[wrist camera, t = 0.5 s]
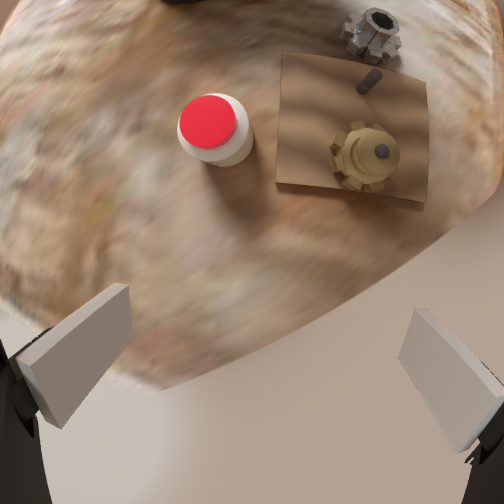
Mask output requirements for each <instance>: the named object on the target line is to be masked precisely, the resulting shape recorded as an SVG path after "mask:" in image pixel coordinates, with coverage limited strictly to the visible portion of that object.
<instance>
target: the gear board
mask: <svg viewBox="0 0 504 504" xmlns="http://www.w3.org/2000/svg"><path fill="white" fill-rule="evenodd" d="M428 164H429V124H428V105H427V92H426V83H425V82H423V81H420V80H417V79H415V78H412V77H409V76H406V75H403V74H400V73H396V72H393V71H390V70H386V69H383V68H379V67H375V66H371V65H367V64H363V63H359V62H354V61H349V60H344V59H339V58H334V57H328V56H321V55H314V54H307V53H298V52H288V51H283V52H282V71H281V91H280V110H279V127H278V143H277V159H276V174H275V183H287V184H298V185H308V186H318V187H327V188H335V189H343V190H351V191H358V192H365V193H372V194H378V195H385V196H391V197H397V198H402V199H408V200H413V201H419V202H425V203H426V196H427V184H428Z"/></svg>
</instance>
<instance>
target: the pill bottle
mask: <svg viewBox="0 0 504 504" xmlns="http://www.w3.org/2000/svg"><path fill="white" fill-rule="evenodd" d="M177 134H178V139H179V141H180V144H181V146H182V147H183V149H184V150H185V151H186V152H187V153H188V154H189V155H190V156H192V157H194V158H196V159H198V160H201V161H203V162H206V163H209V164H211V165H214V166H217V167H230V166H234V165H236V164H238V163H240V162H241V161H243V160H244V159H245V158H246V157H247V156H248V154H249V153H250V151H251V149H252V146H253V142H254V135H253V131H252V127H251V124H250V121H249V118H248V114H247V112H246V110H245V108H244V107H243V106H242V105H241V103H240V102H238V101H237V100H236V99H235V98H233V97H231V96H229V95H225V94H220V93H212V94H206V95H203V96H200V97H197V98H196V99H194V100H192V101H191V102H190V103H188V105H187V106H186V107H185V108H184V110H183V111H182V113H181V116H180V118H179V121H178V126H177Z"/></svg>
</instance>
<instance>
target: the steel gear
mask: <svg viewBox="0 0 504 504" xmlns="http://www.w3.org/2000/svg"><path fill="white" fill-rule="evenodd" d="M399 31H400V30H399V25H398V21H397V20H396V19H395V18H394V17H393V16H392V15H391V14H390V13H389V12H387V11H385V10H382V9H378V8H374V7H373V8H371V9H369V10H367V11H366V12H365V13H364V15H363V16H362V15H361V16H360V15H359V14H357V13H356V12H355V13H353V14H351V15H349V16H348V17H347V19H346V21H345V22H344V24H343V26H342V29H341V31H340V37H341V40H343V41H346V42H347V43H348V45H347V47H346V48H345V49H346V50H347V51H348V52H349V53H351V54H352V55H353V56H356V55H359V56H360V55H361V54H362V57H363V58H364V63H368V64H372V65H376V64H377V63H378V62H379V61H380V60H381V61H382V62H383V64H386V63H387V62H389V61H390V60H392V59H393V58H394V57H395V56H396V55H397V54H398V52H397V50H398V49H399V48H400V47H401V42H400V37H398V36H395V35H396V34H397V33H398V32H399Z"/></svg>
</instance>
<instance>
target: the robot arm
mask: <svg viewBox="0 0 504 504" xmlns="http://www.w3.org/2000/svg"><path fill="white" fill-rule="evenodd" d="M165 1H168V2H172V3H191V2H197V1H201V0H165ZM133 338H134V331H133V324H132V316H131V307H130V297H129V286H128V285H125V284H119V283H114V284H112V285H111V286H109V287H108V288H107V289H105V290H104V291H102V292H101V293H99V294H98V295H97V296H95V297H94V298H92V299H91V300H90V301H88V302H87V303H86V304H84V305H83V306H81V307H80V308H79V309H77V310H76V311H75V312H73V313H72V314H71V315H69V316H68V317H67V318H65V319H64V320H63V321H61V322H60V323H59V324H57V325H55V326H53V327H51V328H48V329H46V330H45V331H43V332H42V333H41V334H40V335H38V337H36V338H34V339H33V340H32V342H29V343H28V344H27V345H25V346H24V347H23V348H22V349H20V351H18V352H17V353H15V354H14V355H13V356H12V357H11V358H9V359H8V357H7V355H6V352H5V350H4V347H3V344H2V341H1V339H0V504H52V500H51V496H50V493H49V489H48V484H47V480H46V475H45V471H44V465H43V459H42V453H41V445H40V437H39V427H38V420H37V417H36V415H35V414H36V413H37V411H38V410H40V412H41V414H42V415H43V417H44V419H45V421H47V422H48V423H50V424H52V425H54V426H56V427H57V428H59V429H62V428H63V426H64V425H65V424H66V422H67V421H68V420H69V418H70V417H71V416H72V414H73V413H74V412H75V410H76V409H77V408H78V407H79V405H80V404H81V403H82V401H83V400H84V399H85V397H86V396H87V395H88V394H89V392H90V391H91V390H92V388H93V387H94V386H95V385H96V383H97V382H98V381H99V380H100V378H101V377H102V376H103V375H104V373H105V372H106V371H107V370H108V368H109V367H110V366H111V365H112V363H113V362H114V361H115V360H116V358H117V357H118V356H119V355H120V354H121V352H122V351H123V350H124V349H125V347H126V346H127V345H128V344H129V343H130V341H131V340H132V339H133ZM398 359H399V360H400V362H401V364H402V365H403V367H404V368H405V370H406V371H407V373H408V375H409V376H410V378H411V379H412V381H413V383H414V384H415V386H416V388H417V389H418V391H419V392H420V394H421V396H422V397H423V399H424V401H425V402H426V404H427V406H428V407H429V409H430V411H431V413H432V414H433V416H434V418H435V420H436V421H437V423H438V425H439V427H440V429H441V430H442V432H443V434H444V436H445V438H446V440H447V442H448V443H449V445H450V447H451V449H452V451H453V453H454V454H458V453H460V452H463V451H465V450H467V449H469V448H470V447H471V445H472V444H473V443H474V442H475V440H476V439H477V438H478V439H479V441H480V444H479V445H478V446H477V447H476V448H475V450H474V451H473V452H472V453H471V454H470V455H469V456H468V458H467V459H466V460H465V463H467V462H468V461H469V460H470V459H471V458H472V457H474V459H473V460H472V461H471V463H470V464H471V465H472V468H471V473H470V477H469V480H468V485H467V487H466V491H465V494H464V497H463V500H462V503H461V504H504V385H503V384H502V383H501V382H500V381H499V380H498V378H497V377H495V376H494V374H493V373H492V372H491V371H489V369H488V368H487V367H486V366H485V364H484V363H483V362H481V361H480V360H479V359H478V358H477V357H476V356H475V355H474V354H473V353H472V352H471V351H470V350H469V349H468V348H467V347H466V346H465V345H464V344H463V343H462V342H461V341H460V340H459V339H458V338H457V337H456V336H455V335H454V334H453V333H452V332H450V330H448V329H447V328H446V327H445V326H444V325H443V324H442V323H441V322H440V321H439V320H438V319H437V318H436V317H435V316H434V315H433V314H431V313H430V312H429V311H428V310H427V309H415V310H414V313H413V316H412V319H411V322H410V325H409V328H408V332H407V334H406V337H405V340H404V343H403V346H402V348H401V351H400V354H399V357H398Z"/></svg>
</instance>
